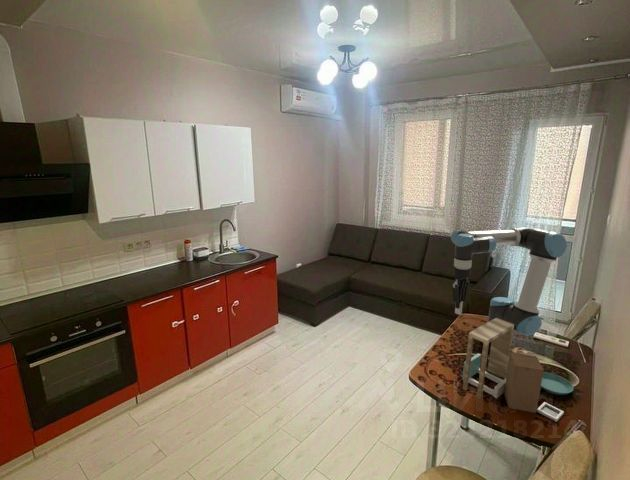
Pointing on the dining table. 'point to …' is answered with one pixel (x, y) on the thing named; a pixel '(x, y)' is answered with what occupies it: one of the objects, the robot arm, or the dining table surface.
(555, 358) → the dining table surface
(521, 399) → the wooden block
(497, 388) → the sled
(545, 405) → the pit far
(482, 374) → the beige tall open frame
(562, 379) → the saucer
